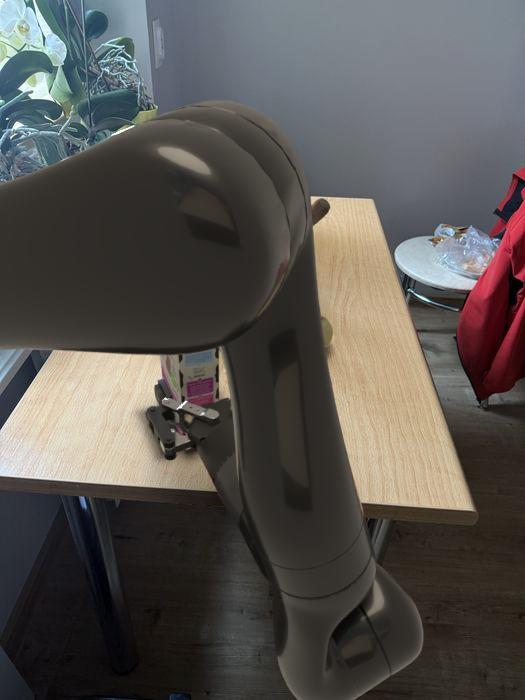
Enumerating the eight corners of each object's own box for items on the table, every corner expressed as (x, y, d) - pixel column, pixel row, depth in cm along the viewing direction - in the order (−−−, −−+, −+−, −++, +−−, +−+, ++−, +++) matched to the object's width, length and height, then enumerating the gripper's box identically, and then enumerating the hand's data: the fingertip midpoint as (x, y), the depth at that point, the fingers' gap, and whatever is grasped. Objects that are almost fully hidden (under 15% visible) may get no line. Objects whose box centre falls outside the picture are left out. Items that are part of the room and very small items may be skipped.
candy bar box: (222, 442, 68) (220, 336, 58) (184, 452, 66) (176, 345, 57) (197, 389, 76) (191, 289, 67) (162, 397, 74) (152, 296, 65)
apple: (328, 334, 90) (332, 304, 86) (333, 362, 83) (337, 331, 80) (293, 333, 90) (295, 303, 86) (295, 361, 83) (297, 330, 80)
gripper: (322, 424, 51) (252, 335, 62) (178, 470, 45) (132, 364, 57) (315, 476, 55) (251, 384, 67) (183, 524, 50) (139, 415, 62)
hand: (196, 375), depth 62 cm, fingers open, 8 cm apart
